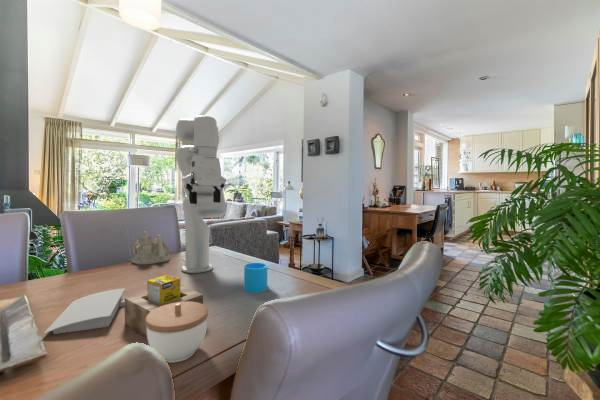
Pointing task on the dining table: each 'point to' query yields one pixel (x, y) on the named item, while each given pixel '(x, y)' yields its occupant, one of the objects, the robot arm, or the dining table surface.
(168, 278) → the supplement box
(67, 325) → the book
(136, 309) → the drop box
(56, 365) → the dining table surface
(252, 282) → the mug
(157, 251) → the sand castle
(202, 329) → the lidded bowl
